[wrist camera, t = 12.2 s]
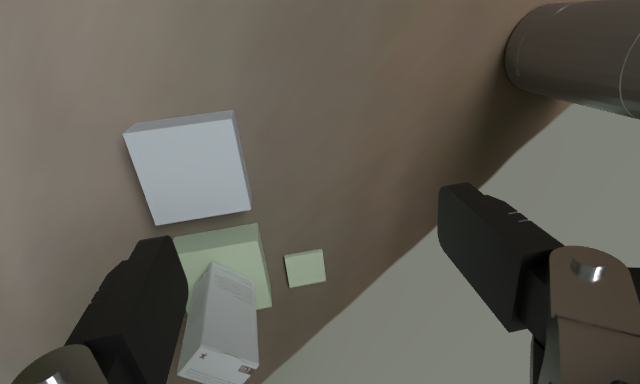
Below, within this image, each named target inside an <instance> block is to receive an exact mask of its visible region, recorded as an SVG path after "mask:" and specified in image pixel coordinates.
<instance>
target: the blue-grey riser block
mask: <svg viewBox="0 0 640 384" xmlns="http://www.w3.org/2000/svg"><path fill="white" fill-rule="evenodd" d="M123 136H124V139H125V142H126V145H127V148H128V150H129V153H130V156H131V159H132V161H133V164H134V167H135V170H136V172H137V175H138V178H139V181H140V184H141V186H142V189H143V192H144V195H145V197H146V200H147V203H148V206H149V208H150V211H151V214H152V217H153V219H154V222H155V225H156V226H157V225H163V224H169V223H175V222H181V221H187V220H193V219H199V218H205V217H211V216H217V215H223V214H229V213H235V212H241V211H247V210H251V189H250V184H249V180H248V175H247V170H246V165H245V160H244V156H243V151H242V146H241V141H240V137H239V132H238V127H237V122H236V117H235V113H234V110H227V111H220V112H213V113H205V114H198V115H191V116H183V117H176V118H169V119H161V120H154V121H147V122H139V123H135V124H134V125H133V126H131V127H130V128H129V129H128V130H127V131H125V132H124V133H123Z"/></svg>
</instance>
